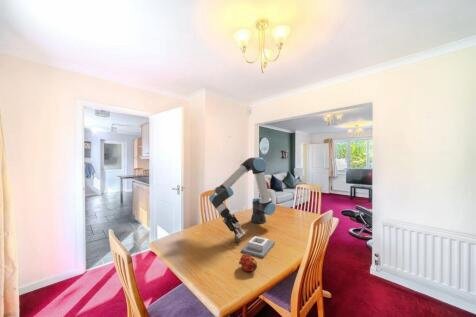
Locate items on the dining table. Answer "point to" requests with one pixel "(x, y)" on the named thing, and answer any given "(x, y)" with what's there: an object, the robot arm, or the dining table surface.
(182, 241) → the dining table surface
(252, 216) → the robot arm
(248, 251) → the socket board
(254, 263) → the dragon fruit
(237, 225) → the cream round-topped cylinder
